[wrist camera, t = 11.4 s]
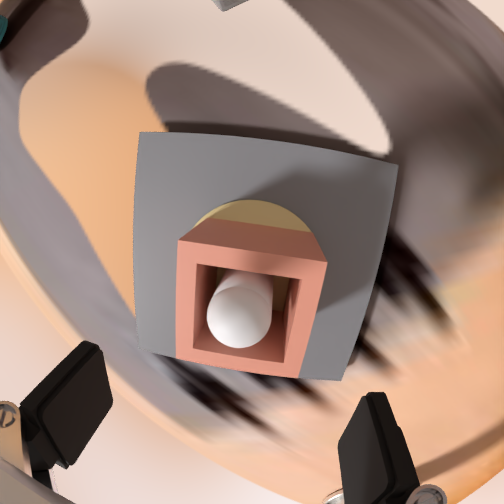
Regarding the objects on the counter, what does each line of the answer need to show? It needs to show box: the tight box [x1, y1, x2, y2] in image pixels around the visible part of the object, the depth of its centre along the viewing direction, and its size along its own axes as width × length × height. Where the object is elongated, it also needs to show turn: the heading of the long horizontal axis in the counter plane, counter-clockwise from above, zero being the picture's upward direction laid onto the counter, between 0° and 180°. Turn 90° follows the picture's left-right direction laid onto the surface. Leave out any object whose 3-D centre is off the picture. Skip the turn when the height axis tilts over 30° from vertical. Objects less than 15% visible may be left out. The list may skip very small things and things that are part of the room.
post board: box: [133, 132, 398, 381], centre depth 17 cm, size 18×18×9 cm
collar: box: [176, 218, 328, 378], centre depth 17 cm, size 7×7×6 cm
